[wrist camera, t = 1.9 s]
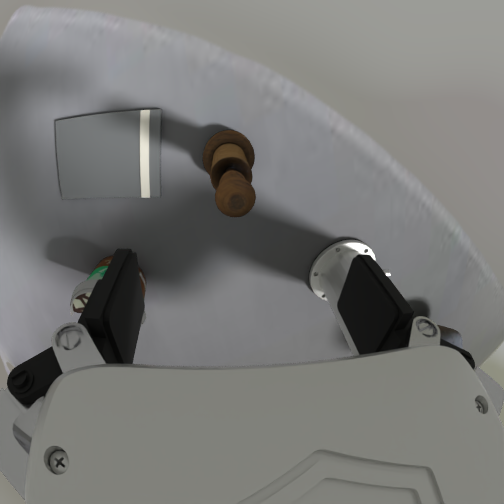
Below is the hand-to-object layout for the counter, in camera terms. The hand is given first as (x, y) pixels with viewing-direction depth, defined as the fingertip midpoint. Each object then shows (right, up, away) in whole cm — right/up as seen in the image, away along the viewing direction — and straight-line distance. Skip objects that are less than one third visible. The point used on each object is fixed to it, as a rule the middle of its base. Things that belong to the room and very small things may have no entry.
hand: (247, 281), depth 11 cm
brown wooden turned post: (-3, +14, +23) cm, 27 cm away
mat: (-20, +14, +20) cm, 32 cm away
